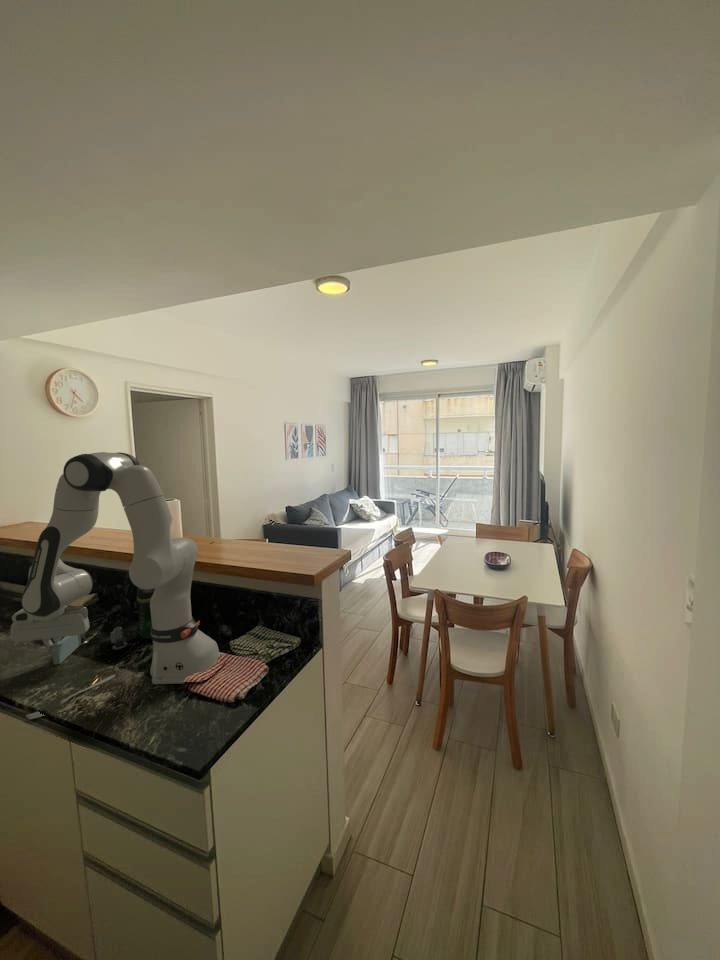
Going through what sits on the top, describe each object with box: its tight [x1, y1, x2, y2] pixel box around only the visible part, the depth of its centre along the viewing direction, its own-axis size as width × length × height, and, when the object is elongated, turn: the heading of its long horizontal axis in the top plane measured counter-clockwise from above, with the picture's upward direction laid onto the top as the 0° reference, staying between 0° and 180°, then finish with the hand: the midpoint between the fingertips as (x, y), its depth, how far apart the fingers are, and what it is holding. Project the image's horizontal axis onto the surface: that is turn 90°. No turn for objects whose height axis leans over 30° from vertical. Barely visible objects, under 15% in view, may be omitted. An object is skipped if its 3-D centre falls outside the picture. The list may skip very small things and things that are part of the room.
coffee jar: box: [136, 587, 155, 640], centre depth 137 cm, size 10×8×19 cm
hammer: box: [109, 626, 128, 651], centre depth 130 cm, size 7×5×6 cm
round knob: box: [79, 632, 90, 647], centre depth 133 cm, size 4×4×6 cm
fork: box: [25, 674, 116, 720], centre depth 105 cm, size 3×24×2 cm, turn 152°
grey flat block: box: [51, 635, 81, 665], centre depth 125 cm, size 12×2×6 cm, turn 10°
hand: (53, 649), depth 121 cm, fingers closed
